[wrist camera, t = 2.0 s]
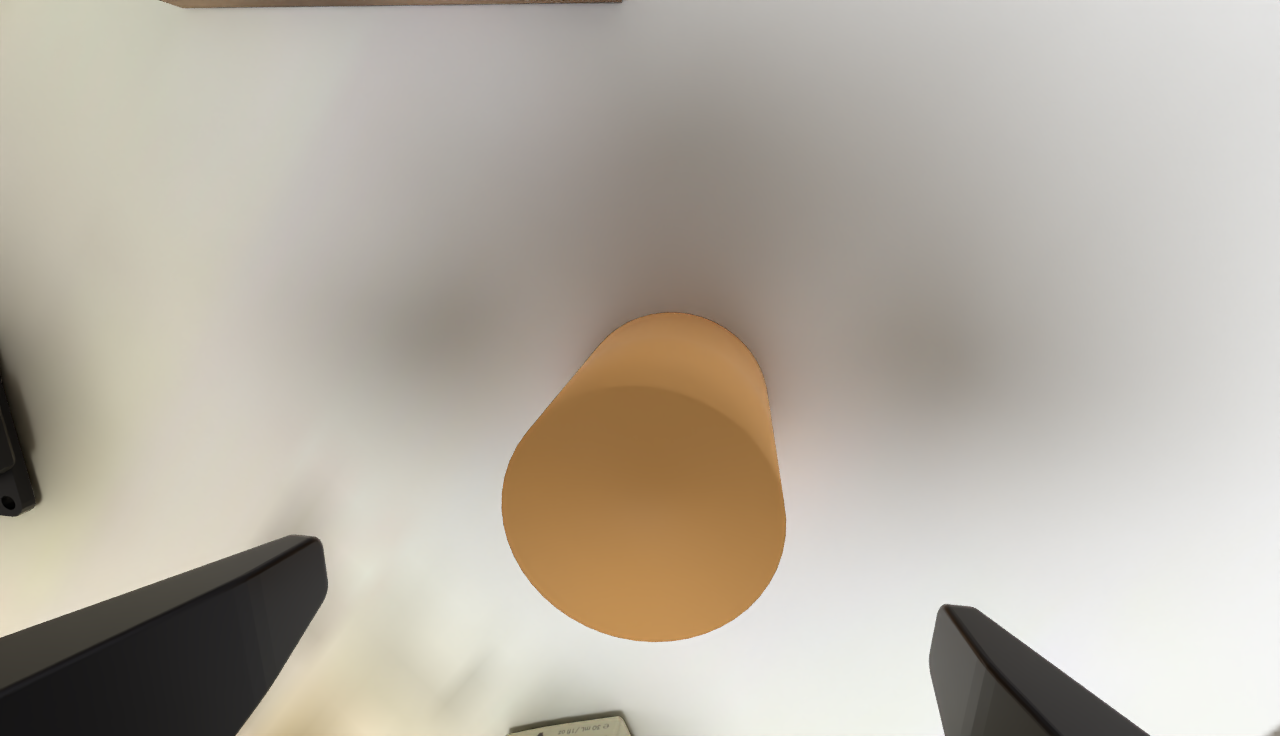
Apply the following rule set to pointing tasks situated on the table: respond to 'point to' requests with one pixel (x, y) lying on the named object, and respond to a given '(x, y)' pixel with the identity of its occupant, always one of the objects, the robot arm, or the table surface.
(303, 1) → the walnut pad
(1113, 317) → the table surface
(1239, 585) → the table surface
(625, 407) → the orange cylinder
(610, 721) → the skincare box
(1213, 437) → the table surface
